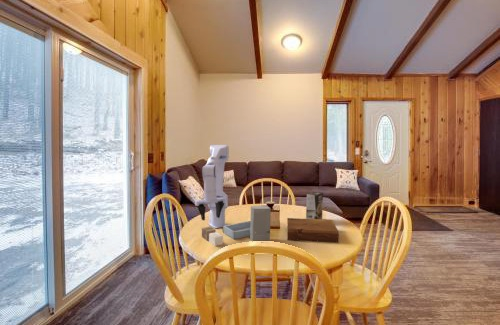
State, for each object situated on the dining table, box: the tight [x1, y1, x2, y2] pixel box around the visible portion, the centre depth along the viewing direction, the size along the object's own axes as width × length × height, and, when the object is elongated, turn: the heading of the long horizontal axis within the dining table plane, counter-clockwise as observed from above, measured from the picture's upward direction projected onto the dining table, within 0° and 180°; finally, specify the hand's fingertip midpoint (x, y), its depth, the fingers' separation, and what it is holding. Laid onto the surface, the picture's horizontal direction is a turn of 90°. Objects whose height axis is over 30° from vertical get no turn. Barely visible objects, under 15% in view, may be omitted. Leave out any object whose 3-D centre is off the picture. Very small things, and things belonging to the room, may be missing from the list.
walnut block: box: [201, 225, 217, 242], centre depth 133 cm, size 6×4×4 cm
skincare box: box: [249, 205, 271, 242], centre depth 129 cm, size 8×7×16 cm
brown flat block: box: [286, 217, 340, 243], centre depth 137 cm, size 23×19×6 cm
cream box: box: [208, 231, 224, 247], centre depth 126 cm, size 6×4×4 cm, turn 33°
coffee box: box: [305, 191, 324, 219], centre depth 158 cm, size 9×6×16 cm
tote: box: [222, 220, 251, 240], centre depth 140 cm, size 11×18×3 cm, turn 123°
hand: (210, 218), depth 132 cm, fingers open, 7 cm apart
